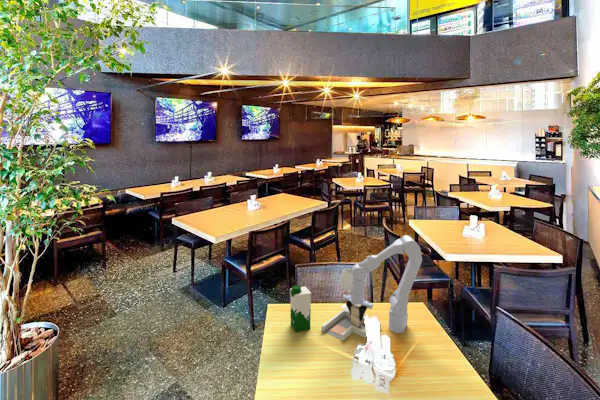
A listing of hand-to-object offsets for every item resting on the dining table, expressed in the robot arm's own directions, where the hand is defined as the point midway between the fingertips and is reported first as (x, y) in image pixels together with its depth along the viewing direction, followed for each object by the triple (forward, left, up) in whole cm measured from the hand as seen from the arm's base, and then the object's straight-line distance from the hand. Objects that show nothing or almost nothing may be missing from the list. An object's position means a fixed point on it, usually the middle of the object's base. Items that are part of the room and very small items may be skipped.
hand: (356, 318), depth 144 cm
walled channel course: (+4, -1, -5) cm, 6 cm away
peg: (0, 0, -3) cm, 3 cm away
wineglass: (-13, -12, -5) cm, 18 cm away
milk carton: (+16, -21, -5) cm, 27 cm away
